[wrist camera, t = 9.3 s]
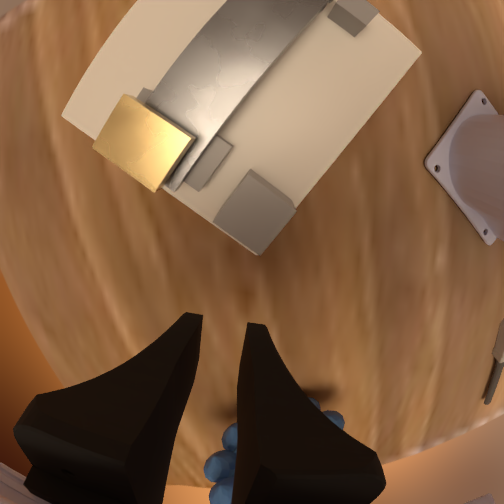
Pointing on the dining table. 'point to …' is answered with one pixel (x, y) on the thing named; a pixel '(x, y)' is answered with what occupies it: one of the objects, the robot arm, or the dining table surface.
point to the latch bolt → (142, 142)
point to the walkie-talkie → (497, 363)
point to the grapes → (223, 462)
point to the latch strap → (226, 68)
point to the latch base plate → (256, 106)
